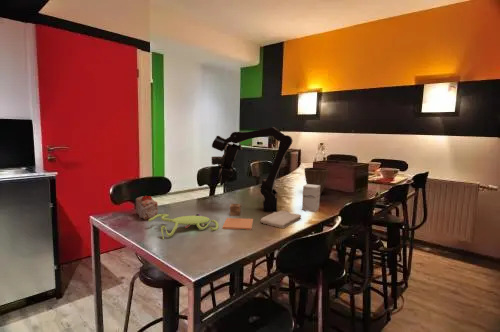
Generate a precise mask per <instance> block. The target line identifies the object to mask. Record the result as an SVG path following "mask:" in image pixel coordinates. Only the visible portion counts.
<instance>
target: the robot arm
mask: <svg viewBox="0 0 500 332" xmlns="http://www.w3.org/2000/svg"><path fill="white" fill-rule="evenodd" d="M267 136H272V138H274V139H275V140H277V141H278V143H279V144H278V147H277V148H278V149H277V153H276V156H275V158H274V161H273V164H272V165H271V168H270V171H269V174H268V176H267V179H266V178H264V179H262V180H261V181H262V183H261V185H260V187H259V188H260V194H261V195H262V196H263V197H264V199H263V205H262V207H263V209H262V210H263V211H264V212H272V213H273V212H278V206H277V205H278V197H277V195H278V192H277V190H276V189H275V188H274V187H275V183H276V178H277V176H278V173H279V170H280V169H281V166H282V163H283V160H284V158H285V156H286V154H287V152H288V151H289V149H290V147H291V145H292V144H293V138H292V136H290V135H288V134H287V135H286V134H284V132H283V133H282V132H281V131H279V130H278V129H277V128H276V127H274V126H270V127H268V128H262V129H257V130H251V131H232V132H231V133H230V136H229V137H227V138H224V137H222V136H221V135H216V136H215V138H214V139H213V141H212V143H211V147H212V149H215V150H218V151H220V152H224V151H225V152H224V154H223V155H222V156H211V165H213V166H215V165H217V166H218V169H219V173H218V180H219V181H220V182H219V185H220V186H223V185H224V184H225V183H227V181H228V180H229V179H230V178H232V177H233V176H234V174H235V173H234V171H233V165H234V162H236V156H237V154H238V151H242V150H243V147H242V144H239V143H243V142H245V141H248V140H251V139H257V138H261V137H267Z"/></svg>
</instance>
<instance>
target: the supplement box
mask: <svg viewBox="0 0 500 332" xmlns="http://www.w3.org/2000/svg"><path fill="white" fill-rule="evenodd" d="M320 199H321V194H320V185H312V184H307V183H306V184H304V185H303V187H302V205H301V208H302V209H301V210H303V211H311V212H314V213H315V212H317V211H318V210H319V209H320Z"/></svg>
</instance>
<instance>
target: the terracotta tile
mask: <svg viewBox="0 0 500 332" xmlns="http://www.w3.org/2000/svg"><path fill="white" fill-rule="evenodd" d="M253 223H254V218H237V217H236V218H234V217H227V218H226V219H225V221H224V223H223V226H222V229H223V230H240V229H246V230H245V231H252V230H253V229H252V228H253ZM251 229H252V230H251Z"/></svg>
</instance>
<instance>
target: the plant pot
mask: <svg viewBox="0 0 500 332" xmlns="http://www.w3.org/2000/svg"><path fill="white" fill-rule="evenodd" d="M328 173H329V169H328V168H325V167H305V168H304V176H305V183H306V184H312V185H320V195H322V192H323V191H324V188H325V186H326V183H327V178H328Z"/></svg>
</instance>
